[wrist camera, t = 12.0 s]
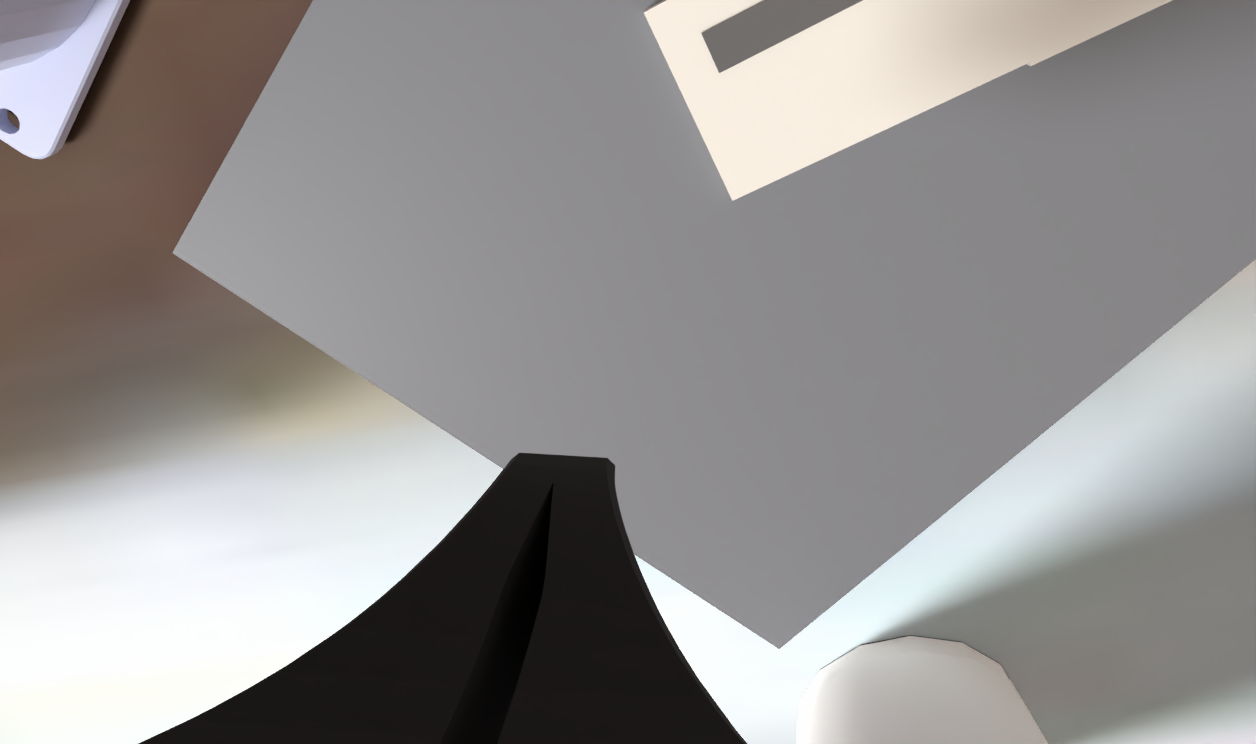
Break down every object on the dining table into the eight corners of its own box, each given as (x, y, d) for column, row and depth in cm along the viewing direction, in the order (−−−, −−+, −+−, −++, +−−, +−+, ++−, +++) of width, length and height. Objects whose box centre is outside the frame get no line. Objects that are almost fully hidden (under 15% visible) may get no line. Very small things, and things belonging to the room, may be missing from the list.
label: (956, -159, 16) (963, -160, 15) (1022, 58, 17) (1030, 63, 17) (644, 10, 17) (643, 12, 17) (732, 195, 19) (732, 201, 18)
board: (185, 243, 21) (172, 253, 20) (1151, -1476, 10) (1177, -1549, 10) (777, 632, 25) (779, 649, 25) (1876, -280, 15) (1920, -286, 14)
